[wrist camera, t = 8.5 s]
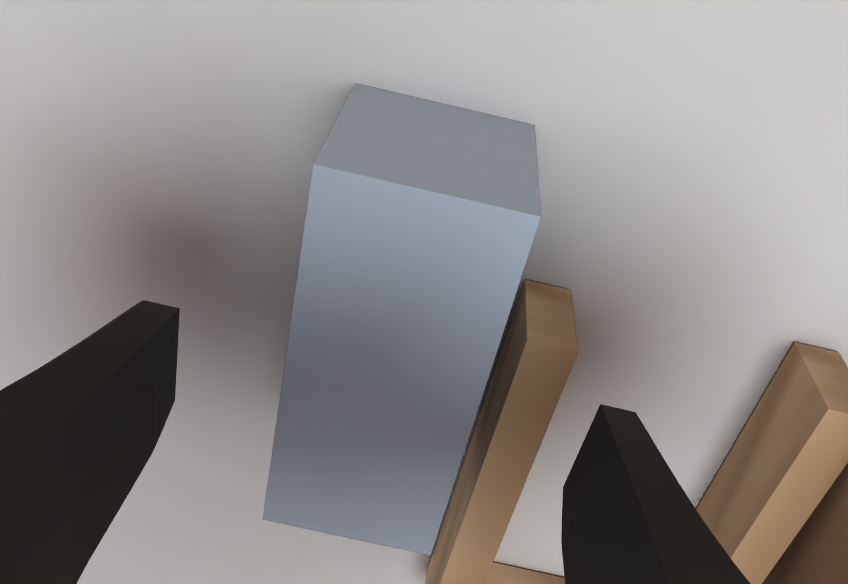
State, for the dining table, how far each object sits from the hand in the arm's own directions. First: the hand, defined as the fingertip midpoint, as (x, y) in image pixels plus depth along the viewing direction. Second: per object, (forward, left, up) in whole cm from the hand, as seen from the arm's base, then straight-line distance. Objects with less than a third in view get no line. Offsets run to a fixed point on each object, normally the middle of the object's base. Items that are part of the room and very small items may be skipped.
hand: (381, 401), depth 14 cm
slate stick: (0, 0, -5) cm, 5 cm away
